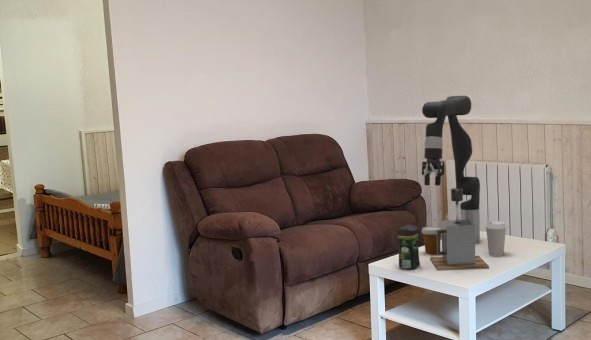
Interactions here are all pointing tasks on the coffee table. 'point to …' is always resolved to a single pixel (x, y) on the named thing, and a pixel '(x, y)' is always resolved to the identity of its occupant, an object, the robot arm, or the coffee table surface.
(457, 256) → the silver block with slot
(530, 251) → the coffee table surface
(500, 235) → the coffee cup
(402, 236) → the coffee jar
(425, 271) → the coffee table surface
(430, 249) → the disposable coffee cup
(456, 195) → the plunger
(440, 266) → the walnut board
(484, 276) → the coffee table surface
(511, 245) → the coffee table surface
